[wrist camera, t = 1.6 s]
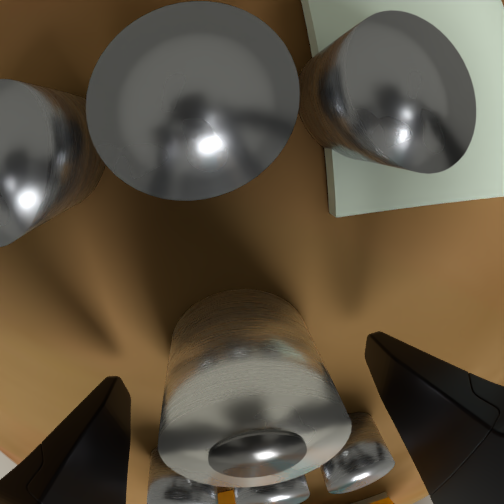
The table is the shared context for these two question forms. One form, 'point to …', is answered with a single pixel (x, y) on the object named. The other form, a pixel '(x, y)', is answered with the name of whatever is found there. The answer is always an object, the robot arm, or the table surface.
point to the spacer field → (234, 144)
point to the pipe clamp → (226, 497)
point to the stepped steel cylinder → (247, 394)
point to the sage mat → (487, 108)
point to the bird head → (376, 499)
